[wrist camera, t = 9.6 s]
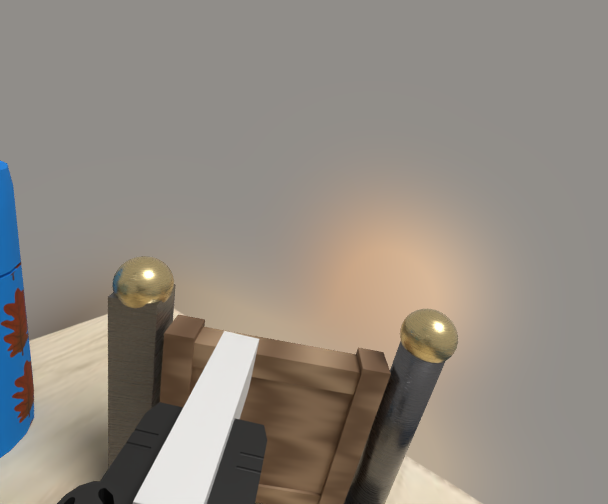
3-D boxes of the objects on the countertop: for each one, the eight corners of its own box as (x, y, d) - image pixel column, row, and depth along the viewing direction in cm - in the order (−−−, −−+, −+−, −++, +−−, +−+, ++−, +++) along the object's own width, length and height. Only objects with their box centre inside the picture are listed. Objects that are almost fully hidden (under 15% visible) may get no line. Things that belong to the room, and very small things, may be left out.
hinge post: (315, 538, 27) (390, 317, 20) (332, 476, 32) (396, 284, 25) (384, 577, 25) (493, 352, 18) (390, 504, 31) (476, 309, 24)
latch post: (183, 464, 30) (205, 251, 23) (155, 537, 25) (174, 287, 18) (120, 455, 30) (123, 236, 23) (77, 528, 24) (63, 267, 17)
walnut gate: (335, 492, 29) (383, 352, 24) (337, 521, 27) (391, 373, 22) (166, 465, 29) (178, 314, 23) (153, 493, 26) (164, 333, 21)
